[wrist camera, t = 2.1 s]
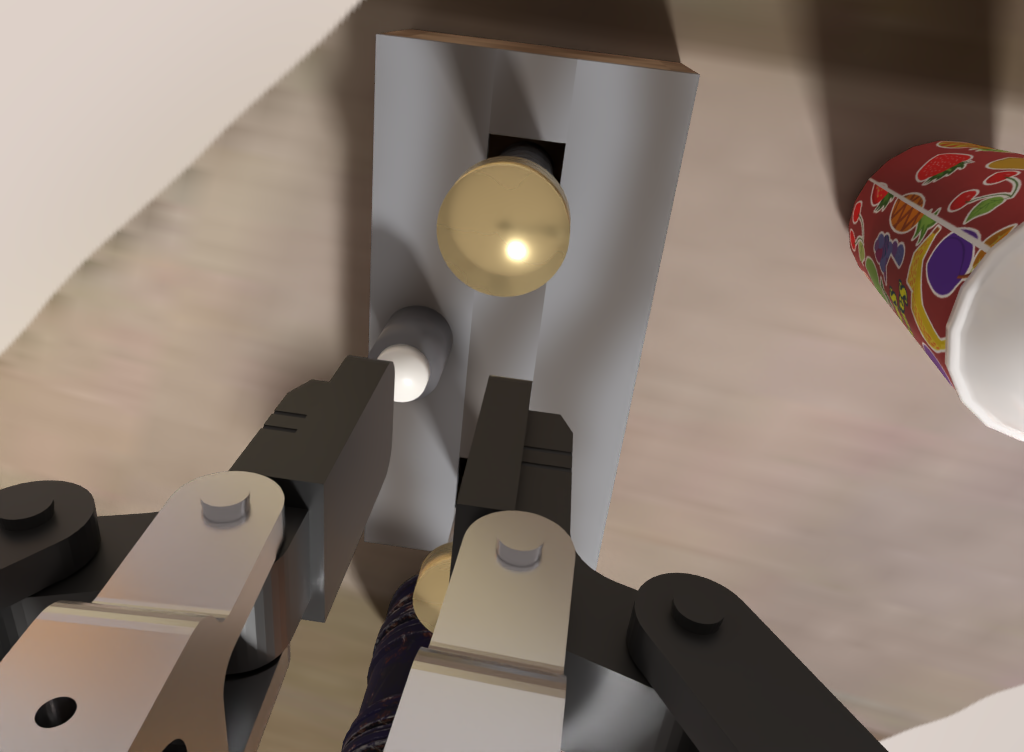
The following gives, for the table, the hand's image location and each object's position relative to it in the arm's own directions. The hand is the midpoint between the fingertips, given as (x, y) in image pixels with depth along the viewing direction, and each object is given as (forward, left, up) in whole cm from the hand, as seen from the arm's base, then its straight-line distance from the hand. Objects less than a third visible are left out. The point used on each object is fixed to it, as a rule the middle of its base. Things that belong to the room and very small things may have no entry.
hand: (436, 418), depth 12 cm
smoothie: (-18, +1, -25) cm, 31 cm away
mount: (0, +8, -25) cm, 26 cm away
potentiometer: (+4, +8, -19) cm, 21 cm away
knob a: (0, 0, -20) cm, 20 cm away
